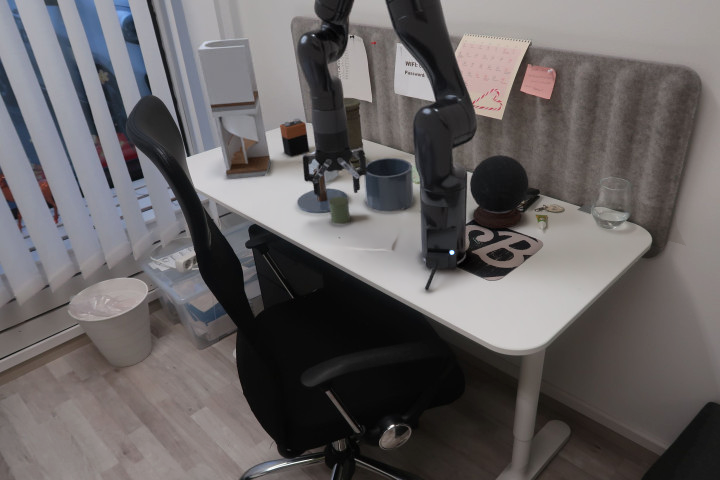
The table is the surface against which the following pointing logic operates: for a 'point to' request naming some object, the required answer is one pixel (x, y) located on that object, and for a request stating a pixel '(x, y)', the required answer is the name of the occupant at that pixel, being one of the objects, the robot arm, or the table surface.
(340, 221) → the tin
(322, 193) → the lid
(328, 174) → the product box
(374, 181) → the canister
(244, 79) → the white shelf tower
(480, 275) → the table surface
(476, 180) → the black ball on stand
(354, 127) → the container
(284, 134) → the battery
